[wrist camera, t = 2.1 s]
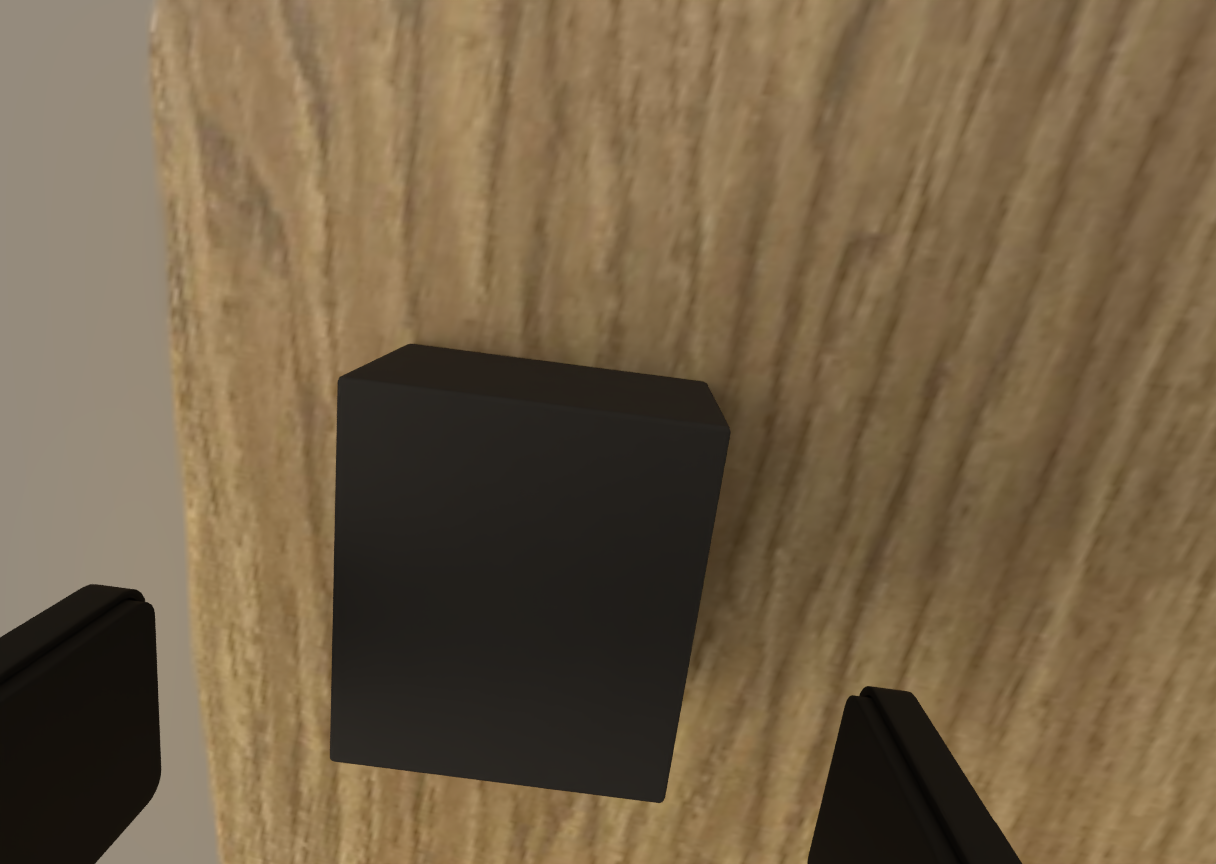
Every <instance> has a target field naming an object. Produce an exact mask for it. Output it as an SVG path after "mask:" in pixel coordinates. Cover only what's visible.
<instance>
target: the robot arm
mask: <svg viewBox="0 0 1216 864" xmlns="http://www.w3.org/2000/svg"><path fill="white" fill-rule="evenodd" d="M157 680H158V678H157V653H156V629H155V612H154V608H153V607H152V605H151V604H149V603H148V602H145V598H144V597H143V595H142V593H141V592H139V591H138V590H135V589H126V588H119V587H112V586H104V585H96V584H95V585H94V584H90V585H88V586H85V587H83V588H81V589H80V590H78V591H76V592H74V593H73V594H71V595H69V596H68V597H66V598H64V599H63V600H61V601H60V602H58V603H56V604H55V605H53V606H52V607H50V608H48V609H46V610H45V611H43V612H41V613H40V614H38V615H36V616H35V617H33V618H31V619H30V620H28V621H27V622H25V623H24V624H22V625H20V626H18V627H17V628H15V629H13V630H12V631H10V632H8V633H7V634H5V635H3V636H2V637H0V864H95V863H96V862H97V860H99V858H100V857H101V856H102V855H103V854H104V852H106V850H107V849H108V848H109V847H110V846H111V845H112V844H113V842H114V841H115V840H116V839H117V838H118V837H119V836H120V834H121V833H122V832H123V831H124V830H125V829H126V828H127V827H128V826H129V824H130V823H131V822H132V821H133V820H134V819H135V818H136V816H137V815H138V814H139V813H140V812H141V811H142V810H143V809H144V807H145V806H146V805H147V804H148V803H149V801H150V800H151V799H152V797H153V795H154V793H155V792H156V789H157V787H158V784H159V780H160V776H161V752H160V727H159V704H158V703H159V702H158V681H157ZM808 864H1022V863H1021V861H1020V859H1019V858H1018V856H1017V855H1016V853H1015V852H1014V850H1013V848H1012V847H1011V845H1010V844H1009V842H1008V841H1007V839H1006V838H1005V836H1004V834H1003V833H1002V831H1001V830H1000V828H999V827H998V825H997V823H996V822H995V821H994V820H993V818H992V817H991V815H990V814H989V812H988V810H987V809H986V807H985V806H984V804H983V803H982V801H981V799H980V798H979V796H978V795H977V793H976V792H975V790H974V788H973V787H972V785H971V784H970V782H969V781H968V779H967V777H966V776H965V774H964V773H963V771H962V770H961V768H960V766H959V765H958V763H957V762H956V760H955V759H954V757H953V755H952V754H951V752H950V751H949V749H948V748H947V746H946V744H945V743H944V741H943V740H942V738H941V737H940V735H939V733H938V732H937V730H936V729H935V727H934V726H933V724H932V722H931V721H930V719H929V718H928V716H927V714H926V713H925V711H924V710H923V708H922V707H921V705H920V703H919V702H918V700H917V699H916V697H915V696H914V695H913V694H912V693H911V692H908V691H901V690H893V689H886V688H878V687H871V686H867V687H865V688H863V690H862V691H861V693H860V696H853V695H852V696H850V697H849V698H848V699H847V701H846V704H845V708H844V712H843V716H842V720H841V724H840V728H839V733H838V737H837V741H836V745H835V749H834V753H833V757H832V761H831V766H830V770H829V774H828V778H827V782H826V786H825V790H824V794H823V798H822V803H821V807H820V811H819V815H818V819H817V823H816V827H815V831H814V836H813V840H812V844H811V848H810V852H809V857H808Z"/></svg>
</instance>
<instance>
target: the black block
mask: <svg viewBox="0 0 1216 864" xmlns="http://www.w3.org/2000/svg"><path fill="white" fill-rule="evenodd" d="M730 433H731V432H730V427H729V426H728V424H727V422H726V420H725V418H724V416H723V414H722V412H721V410H720V408H719V406H718V404H717V402H716V400H715V399H714V397H713V395H712V393H711V391H710V389H709V387H708V385H707V383H705V382H702V381H694V380H686V379H679V378H671V377H663V376H655V375H648V374H640V373H632V372H624V371H617V370H609V369H601V368H594V367H586V366H578V365H570V364H563V363H555V362H547V361H540V360H532V359H524V358H516V357H509V356H501V355H493V354H486V353H478V352H470V351H462V350H455V349H447V348H439V347H432V346H424V345H416V344H408V345H406V346H404V347H401V348H399V349H397V350H395V351H393V352H391V353H389V354H387V355H385V356H383V357H381V358H378V359H376V360H374V361H372V362H370V363H368V364H366V365H364V366H362V367H360V368H358V369H356V370H353V371H351V372H349V373H347V374H345V375H343V376H341V377H340V378H339V380H338V396H337V444H336V492H335V540H334V588H333V636H332V684H331V732H330V759H331V760H332V761H335V762H343V763H350V764H358V765H366V766H374V767H382V768H390V769H397V770H405V771H413V772H421V773H429V774H437V775H444V776H452V777H460V778H468V779H476V780H484V781H491V782H499V783H507V784H515V785H523V786H531V787H538V788H546V789H554V790H562V791H570V792H578V793H585V794H593V795H601V796H609V797H617V798H625V799H632V800H640V801H648V802H656V803H661V802H663V800H664V798H665V795H666V789H667V783H668V778H669V772H670V767H671V761H672V756H673V750H674V745H675V739H676V733H677V728H678V722H679V717H680V711H681V706H682V700H683V694H684V689H685V683H686V678H687V672H688V667H689V661H690V656H691V650H692V644H693V639H694V633H695V628H696V622H697V617H698V611H699V605H700V600H701V594H702V589H703V583H704V578H705V572H706V566H707V561H708V555H709V550H710V544H711V539H712V533H713V528H714V522H715V516H716V511H717V505H718V500H719V494H720V489H721V483H722V477H723V472H724V466H725V461H726V455H727V450H728V444H729V438H730Z"/></svg>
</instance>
